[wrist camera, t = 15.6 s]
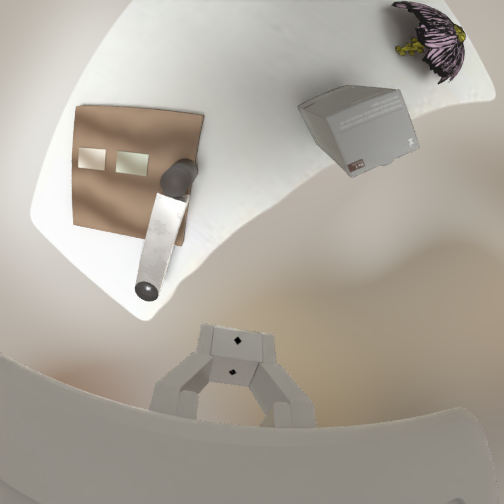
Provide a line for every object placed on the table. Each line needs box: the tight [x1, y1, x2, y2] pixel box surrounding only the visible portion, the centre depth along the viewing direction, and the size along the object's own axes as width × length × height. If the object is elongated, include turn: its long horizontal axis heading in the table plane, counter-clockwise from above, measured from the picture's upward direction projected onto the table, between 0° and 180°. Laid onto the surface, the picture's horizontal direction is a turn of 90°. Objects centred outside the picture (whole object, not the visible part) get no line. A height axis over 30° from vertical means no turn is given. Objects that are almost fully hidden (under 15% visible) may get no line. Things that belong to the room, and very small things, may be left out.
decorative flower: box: [391, 1, 466, 84], centre depth 23 cm, size 14×12×15 cm
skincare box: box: [298, 85, 419, 178], centre depth 28 cm, size 8×7×16 cm
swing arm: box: [135, 188, 190, 301], centre depth 40 cm, size 18×4×3 cm, turn 157°
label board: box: [72, 106, 204, 246], centre depth 35 cm, size 20×21×8 cm
